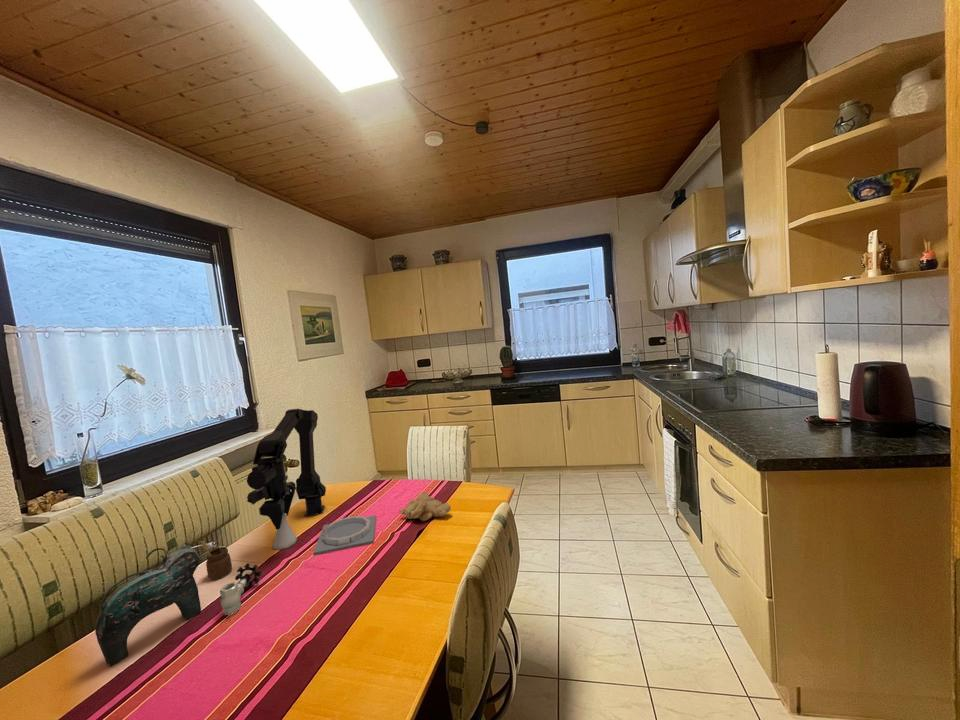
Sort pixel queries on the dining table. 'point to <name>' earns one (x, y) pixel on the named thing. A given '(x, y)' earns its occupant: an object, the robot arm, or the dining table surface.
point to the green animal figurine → (147, 600)
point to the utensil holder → (218, 562)
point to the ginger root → (425, 508)
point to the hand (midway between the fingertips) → (282, 522)
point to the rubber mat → (344, 532)
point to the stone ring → (347, 539)
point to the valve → (237, 589)
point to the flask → (284, 536)
